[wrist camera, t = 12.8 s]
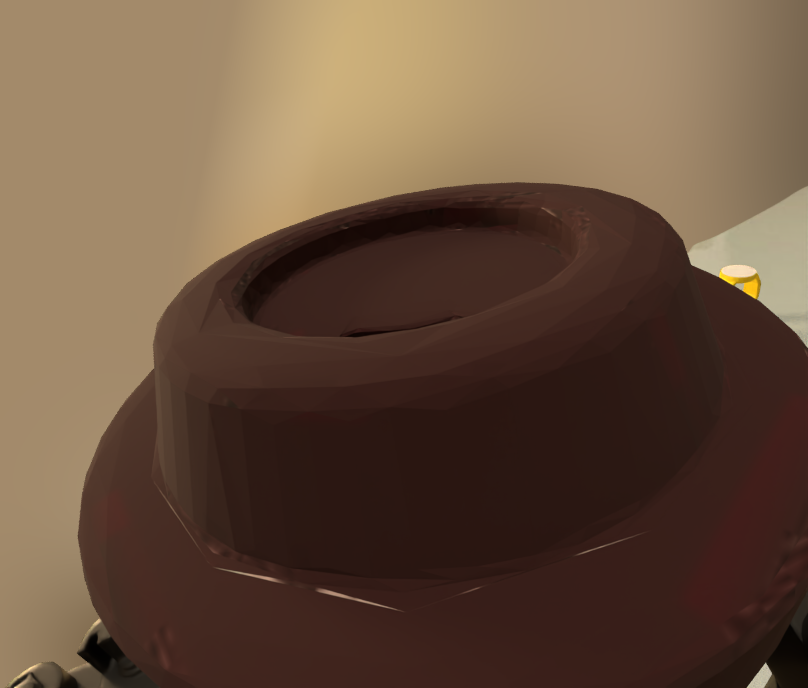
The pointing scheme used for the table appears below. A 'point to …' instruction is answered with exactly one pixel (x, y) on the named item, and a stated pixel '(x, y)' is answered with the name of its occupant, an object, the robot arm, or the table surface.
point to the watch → (742, 278)
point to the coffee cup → (457, 458)
